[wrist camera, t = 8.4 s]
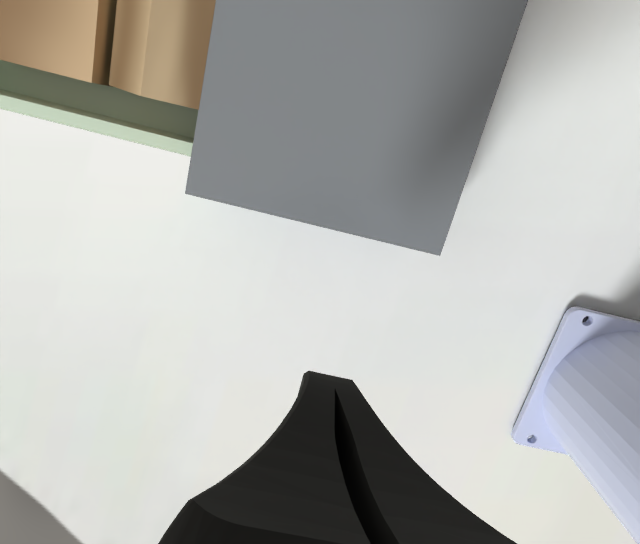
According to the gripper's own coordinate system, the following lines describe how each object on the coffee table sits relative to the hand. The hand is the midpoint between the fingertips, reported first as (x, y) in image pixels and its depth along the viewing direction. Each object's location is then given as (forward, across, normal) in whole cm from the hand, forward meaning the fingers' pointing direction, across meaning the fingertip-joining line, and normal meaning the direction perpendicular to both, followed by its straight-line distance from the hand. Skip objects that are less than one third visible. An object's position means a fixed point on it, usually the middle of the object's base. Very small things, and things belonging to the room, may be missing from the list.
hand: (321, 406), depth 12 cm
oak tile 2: (+8, +12, -8) cm, 17 cm away
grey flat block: (+10, +1, -8) cm, 13 cm away
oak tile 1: (+8, +7, -8) cm, 14 cm away
